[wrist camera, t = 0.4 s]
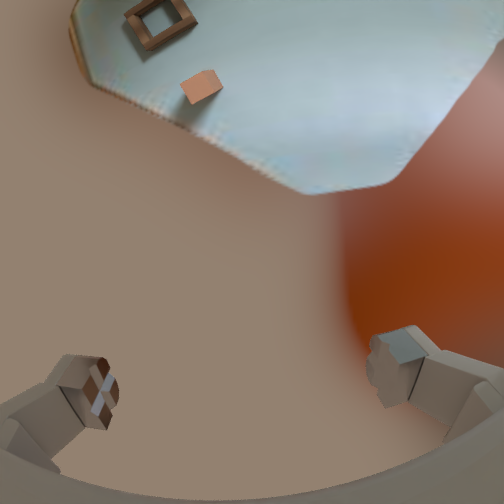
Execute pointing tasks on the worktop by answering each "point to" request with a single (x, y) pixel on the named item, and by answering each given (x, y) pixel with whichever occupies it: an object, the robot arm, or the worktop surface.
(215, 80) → the salmon orange rectangular block
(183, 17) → the walnut well
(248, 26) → the worktop surface
